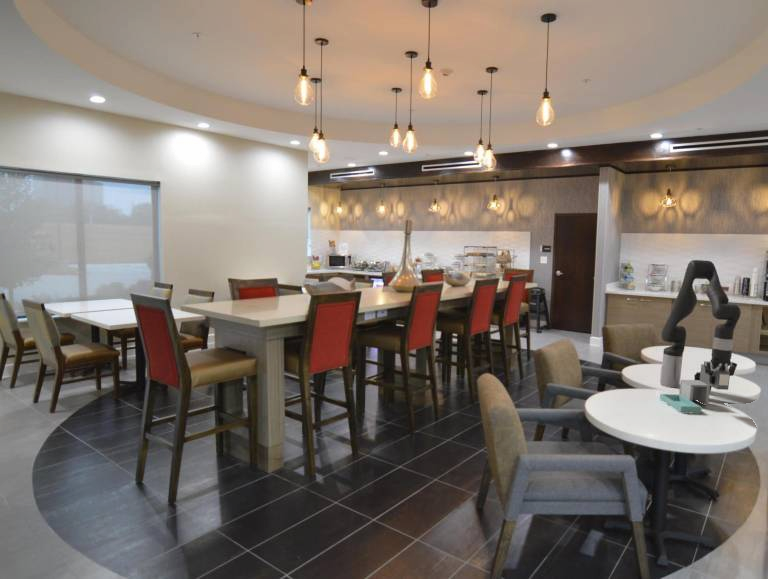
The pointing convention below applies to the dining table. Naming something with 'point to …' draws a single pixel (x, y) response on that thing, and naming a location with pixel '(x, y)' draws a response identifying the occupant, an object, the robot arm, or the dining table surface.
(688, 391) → the light grey block
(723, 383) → the tall grey pillar
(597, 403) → the dining table surface
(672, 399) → the tray
